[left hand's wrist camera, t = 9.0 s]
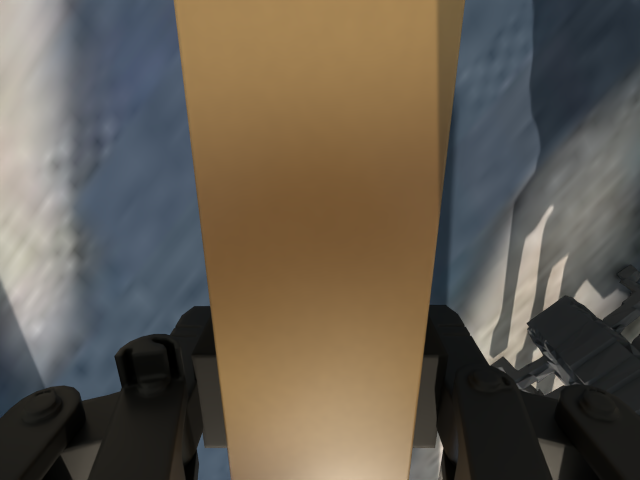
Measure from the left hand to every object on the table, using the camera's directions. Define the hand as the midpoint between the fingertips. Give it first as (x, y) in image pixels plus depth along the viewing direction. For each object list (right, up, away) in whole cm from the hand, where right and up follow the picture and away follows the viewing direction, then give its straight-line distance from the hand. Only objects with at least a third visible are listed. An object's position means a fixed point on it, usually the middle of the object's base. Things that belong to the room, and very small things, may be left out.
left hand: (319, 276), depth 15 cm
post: (0, +18, -6) cm, 19 cm away
